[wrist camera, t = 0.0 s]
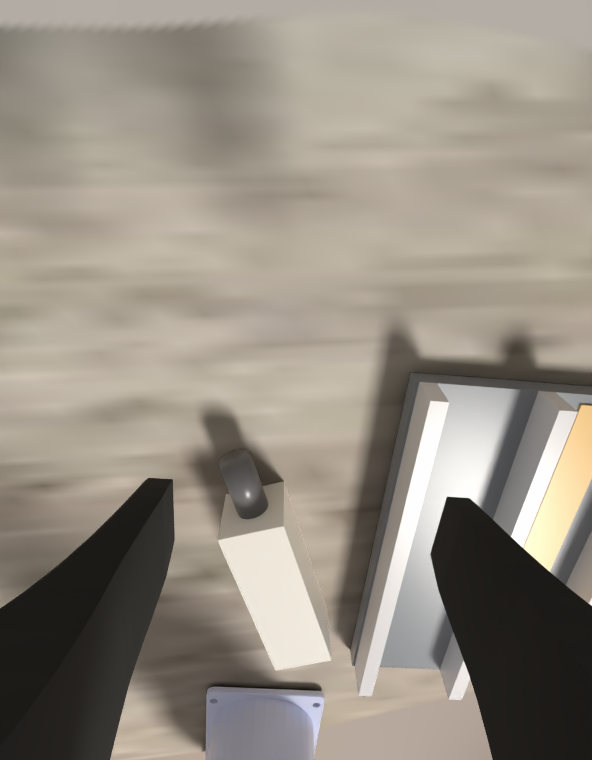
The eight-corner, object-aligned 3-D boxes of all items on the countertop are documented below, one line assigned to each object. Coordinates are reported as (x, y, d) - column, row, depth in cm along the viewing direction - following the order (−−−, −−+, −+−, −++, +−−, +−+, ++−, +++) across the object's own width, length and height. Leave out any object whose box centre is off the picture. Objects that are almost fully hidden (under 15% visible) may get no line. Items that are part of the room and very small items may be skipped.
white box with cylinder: (326, 604, 29) (331, 660, 25) (276, 614, 29) (275, 670, 26) (268, 431, 23) (265, 475, 20) (207, 446, 23) (195, 490, 20)
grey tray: (609, 662, 31) (638, 706, 28) (350, 650, 30) (355, 695, 28) (766, 399, 22) (827, 430, 20) (410, 372, 22) (426, 400, 19)
